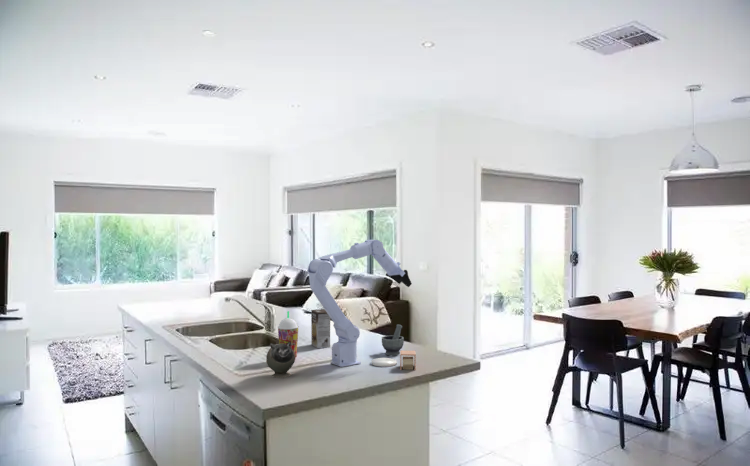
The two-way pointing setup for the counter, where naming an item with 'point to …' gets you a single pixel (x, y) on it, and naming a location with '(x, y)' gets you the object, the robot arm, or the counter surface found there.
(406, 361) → the block
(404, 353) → the cover
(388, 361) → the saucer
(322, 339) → the coffee box
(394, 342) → the mortar and pestle
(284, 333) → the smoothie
